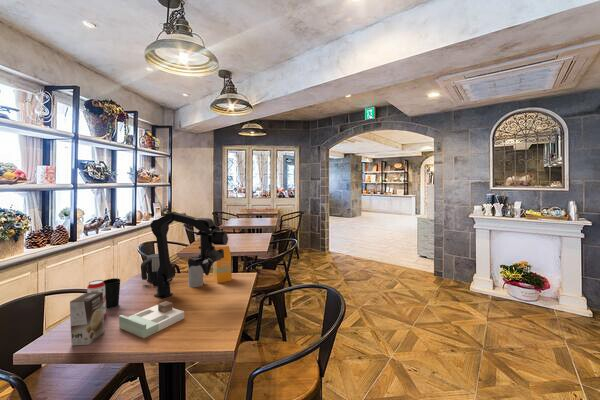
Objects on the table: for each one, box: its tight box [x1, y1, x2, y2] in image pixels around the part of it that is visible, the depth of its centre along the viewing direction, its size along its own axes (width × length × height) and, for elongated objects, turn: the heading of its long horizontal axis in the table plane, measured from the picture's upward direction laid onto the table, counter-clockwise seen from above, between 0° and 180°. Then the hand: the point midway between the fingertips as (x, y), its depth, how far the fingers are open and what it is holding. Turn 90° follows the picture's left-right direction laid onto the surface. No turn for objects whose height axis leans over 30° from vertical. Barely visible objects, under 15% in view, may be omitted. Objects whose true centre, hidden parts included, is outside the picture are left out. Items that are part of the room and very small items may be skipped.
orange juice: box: [212, 245, 233, 284], centre depth 171 cm, size 8×9×20 cm
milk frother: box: [140, 253, 160, 283], centre depth 168 cm, size 14×16×15 cm
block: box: [157, 300, 174, 313], centre depth 124 cm, size 4×4×3 cm
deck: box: [118, 304, 185, 339], centre depth 119 cm, size 16×18×5 cm
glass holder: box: [187, 256, 205, 288], centre depth 166 cm, size 9×14×15 cm, turn 21°
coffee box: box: [69, 292, 105, 346], centre depth 107 cm, size 9×6×16 cm
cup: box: [103, 277, 121, 310], centre depth 135 cm, size 8×8×12 cm
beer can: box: [86, 279, 107, 319], centre depth 122 cm, size 6×6×16 cm
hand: (207, 275), depth 143 cm, fingers closed
